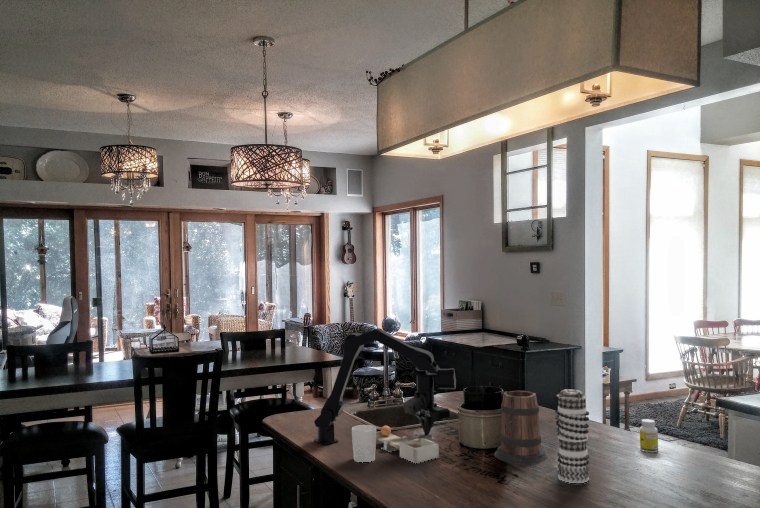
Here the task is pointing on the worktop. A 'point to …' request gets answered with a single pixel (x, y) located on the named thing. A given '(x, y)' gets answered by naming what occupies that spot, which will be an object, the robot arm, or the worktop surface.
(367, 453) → the white cup
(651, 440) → the supplement bottle
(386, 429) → the ball
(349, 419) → the worktop surface
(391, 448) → the fulcrum
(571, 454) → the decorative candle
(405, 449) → the tray
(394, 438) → the lever
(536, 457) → the tankard
